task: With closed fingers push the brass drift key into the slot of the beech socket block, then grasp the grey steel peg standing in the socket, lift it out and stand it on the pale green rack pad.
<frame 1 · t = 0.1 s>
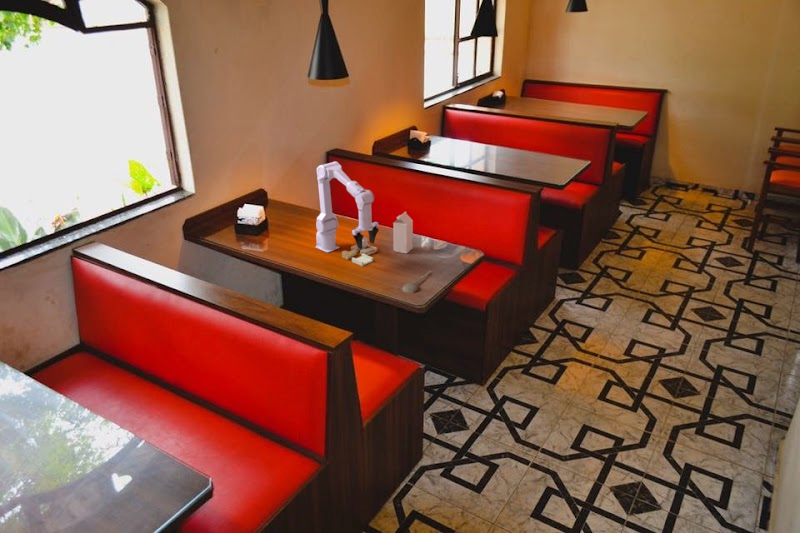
hand: (365, 245, 289), 10 cm above the table, tool pointing down, fingers open, 7 cm apart
milk carton: (403, 250, 309), on the table
peg: (363, 244, 306), in the socket block
drift key: (349, 253, 301), point 2 cm above the table, slide at 0.0 cm
soupspoon: (418, 284, 277), on the table
socket block: (364, 251, 308), on the table
rack pad: (362, 261, 296), on the table
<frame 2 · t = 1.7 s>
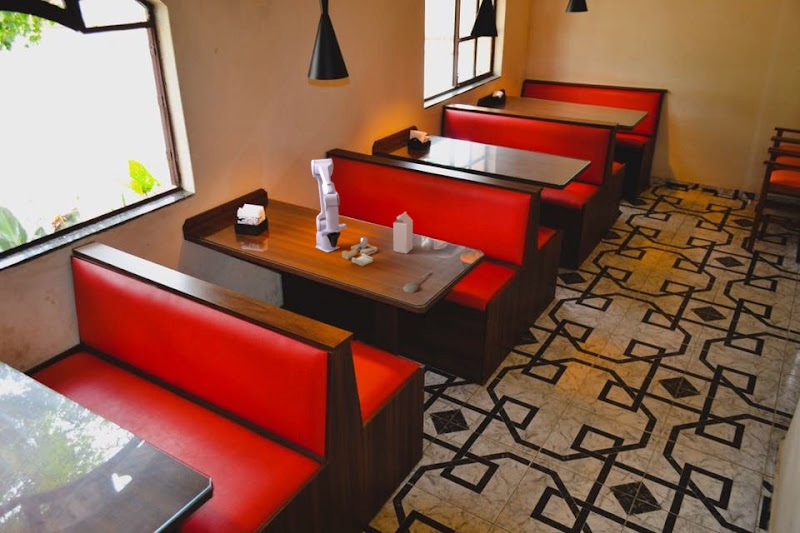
hand: (333, 246, 292), 8 cm above the table, tool pointing down, fingers closed
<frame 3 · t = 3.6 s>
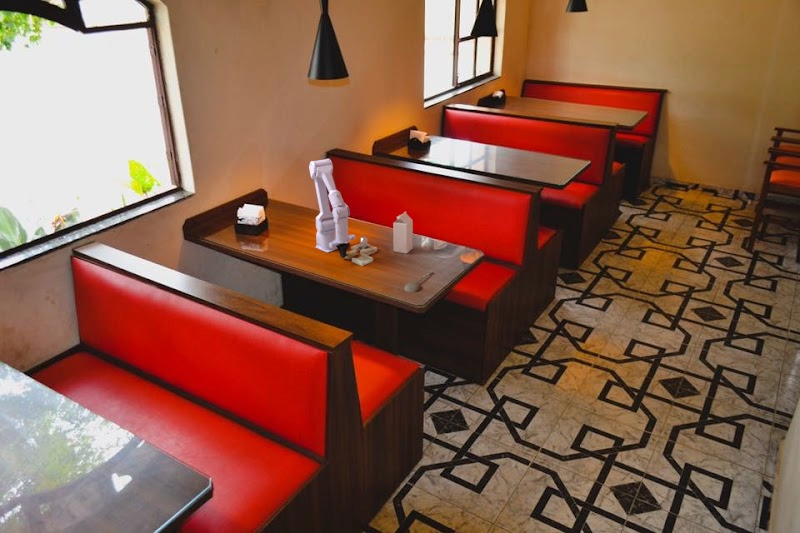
hand: (342, 257, 298), 1 cm above the table, tool pointing down, fingers closed
drift key: (349, 253, 301), point 2 cm above the table, slide at 0.0 cm, touching gripper
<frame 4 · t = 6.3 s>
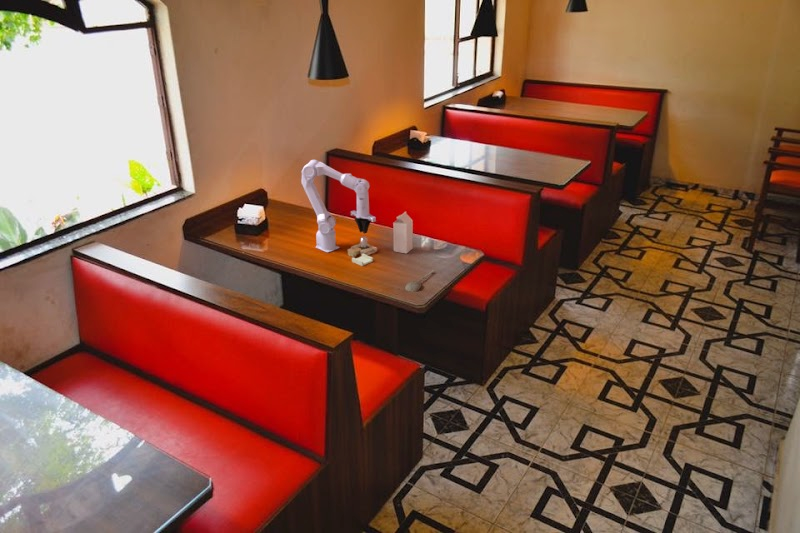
hand: (363, 232, 303), 10 cm above the table, tool pointing down, fingers closed
drift key: (355, 251, 303), point 2 cm above the table, slide at 3.7 cm
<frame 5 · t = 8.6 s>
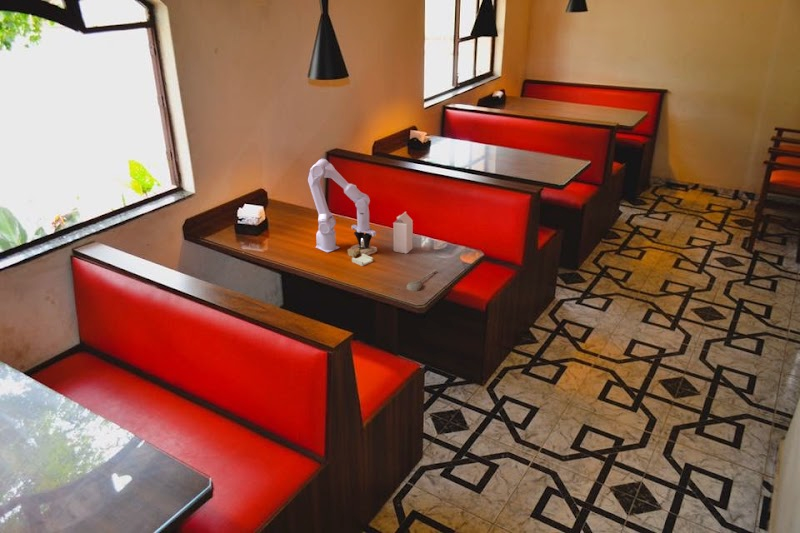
hand: (363, 246, 306), 3 cm above the table, tool pointing down, fingers closed on peg, 3 cm apart
peg: (363, 244, 306), in the socket block, touching gripper
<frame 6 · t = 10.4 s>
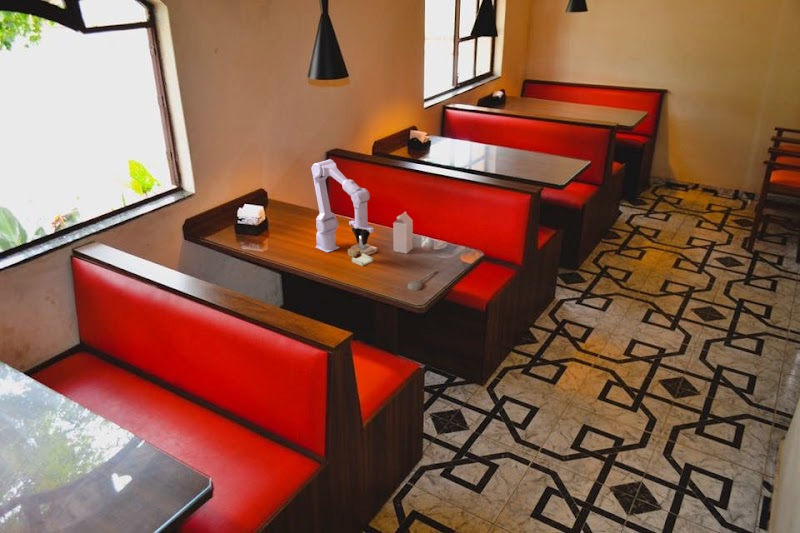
hand: (361, 243, 292), 10 cm above the table, tool pointing down, fingers closed on peg, 3 cm apart
peg: (362, 242, 292), point 10 cm above the table, touching gripper
when the fingers open (4 cm above the table, at t = 12.0 s): peg stays where it is, resting on rack pad.
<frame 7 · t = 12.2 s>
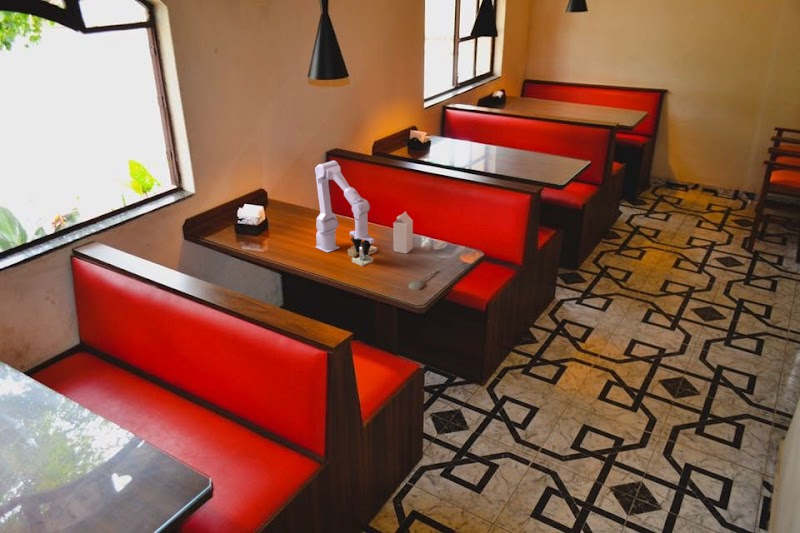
hand: (362, 253, 295), 4 cm above the table, tool pointing down, fingers open, 5 cm apart
peg: (362, 253, 295), point 4 cm above the table, touching rack pad
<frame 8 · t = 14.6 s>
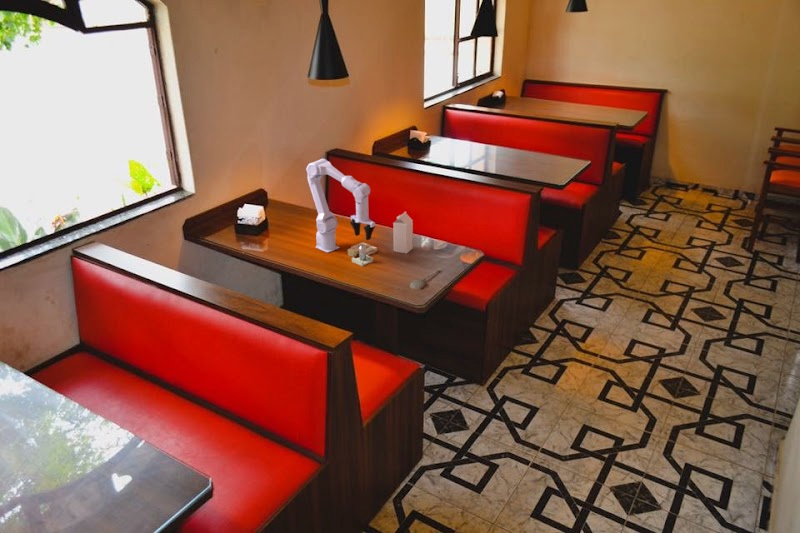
hand: (363, 237, 297), 10 cm above the table, tool pointing down, fingers open, 7 cm apart
at the end: drift key slide at 3.7 cm; peg 0.4 cm off-centre on the rack pad, point 4.3 cm above the rack pad's base; peg tilted 1° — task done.
